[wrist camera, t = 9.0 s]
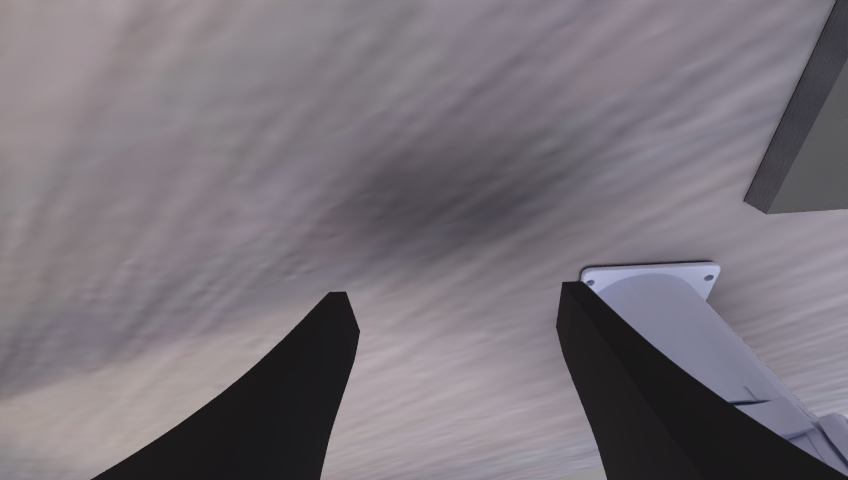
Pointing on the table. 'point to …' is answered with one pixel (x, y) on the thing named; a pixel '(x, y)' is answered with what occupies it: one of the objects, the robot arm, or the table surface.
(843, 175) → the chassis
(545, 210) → the table surface
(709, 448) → the robot arm
